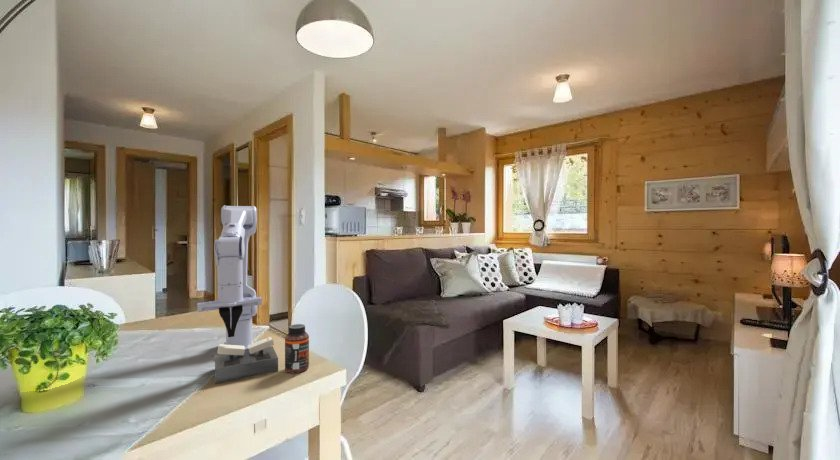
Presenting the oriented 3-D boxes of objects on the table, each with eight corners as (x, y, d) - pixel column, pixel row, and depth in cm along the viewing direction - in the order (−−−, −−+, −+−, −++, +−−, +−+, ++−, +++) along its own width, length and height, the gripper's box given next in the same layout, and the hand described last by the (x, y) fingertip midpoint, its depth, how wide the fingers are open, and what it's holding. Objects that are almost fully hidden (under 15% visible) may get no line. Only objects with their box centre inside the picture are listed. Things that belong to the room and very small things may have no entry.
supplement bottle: (301, 374, 89) (301, 330, 89) (280, 373, 90) (279, 328, 90) (313, 365, 95) (313, 323, 94) (293, 363, 96) (292, 322, 96)
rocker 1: (217, 350, 91) (219, 344, 92) (242, 351, 94) (244, 345, 95) (217, 354, 89) (219, 347, 89) (243, 355, 92) (245, 349, 92)
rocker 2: (249, 350, 95) (247, 345, 95) (272, 341, 98) (270, 336, 98) (250, 354, 93) (248, 348, 92) (274, 344, 95) (272, 339, 95)
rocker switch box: (215, 368, 93) (214, 352, 92) (272, 358, 100) (272, 343, 99) (215, 384, 84) (214, 366, 84) (278, 371, 91) (278, 354, 91)
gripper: (196, 288, 84) (197, 345, 85) (262, 283, 92) (263, 335, 92) (197, 284, 90) (198, 337, 91) (259, 279, 98) (260, 328, 98)
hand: (231, 335), depth 92 cm, fingers closed
